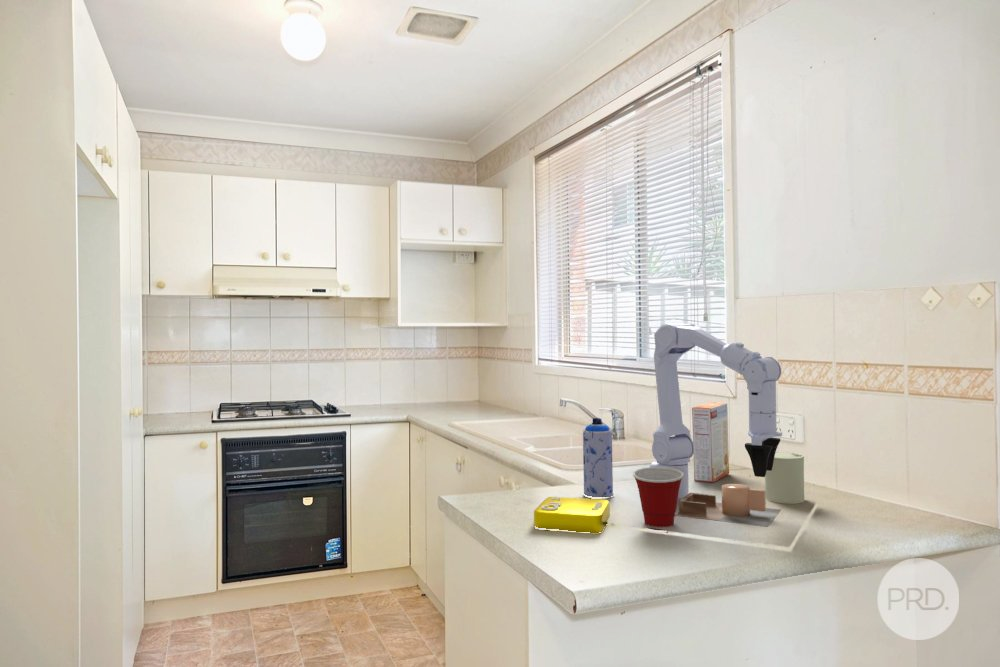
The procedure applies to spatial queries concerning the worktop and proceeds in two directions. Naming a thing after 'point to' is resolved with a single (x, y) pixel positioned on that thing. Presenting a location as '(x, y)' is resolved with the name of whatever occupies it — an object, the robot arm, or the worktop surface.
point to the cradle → (720, 511)
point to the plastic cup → (658, 494)
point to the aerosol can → (597, 460)
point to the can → (785, 479)
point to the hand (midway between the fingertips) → (763, 473)
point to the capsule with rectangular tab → (742, 500)
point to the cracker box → (710, 441)
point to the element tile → (572, 514)
